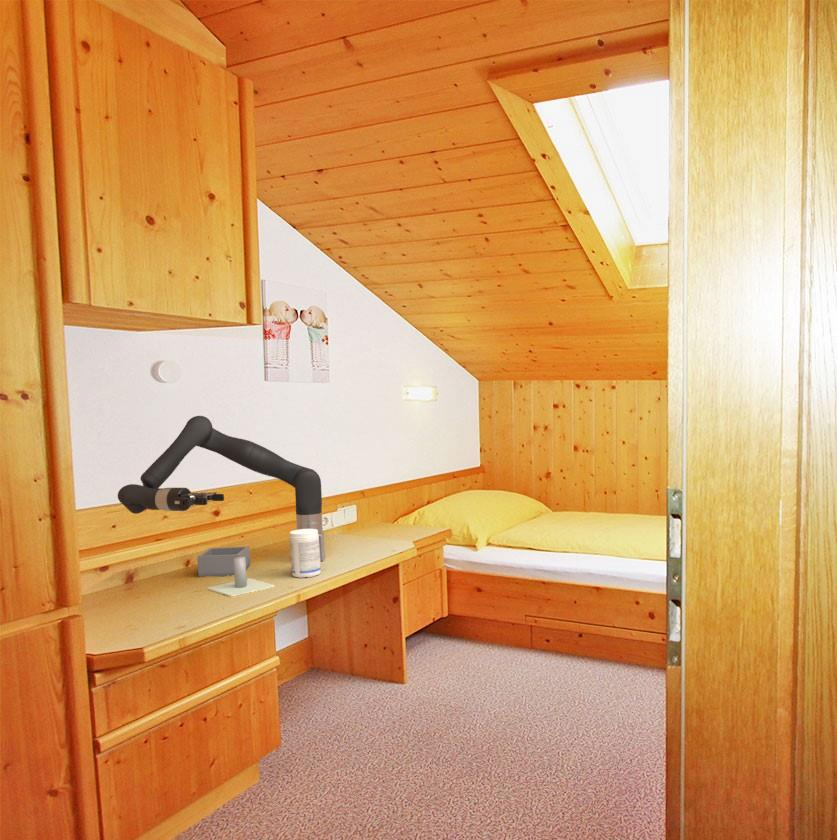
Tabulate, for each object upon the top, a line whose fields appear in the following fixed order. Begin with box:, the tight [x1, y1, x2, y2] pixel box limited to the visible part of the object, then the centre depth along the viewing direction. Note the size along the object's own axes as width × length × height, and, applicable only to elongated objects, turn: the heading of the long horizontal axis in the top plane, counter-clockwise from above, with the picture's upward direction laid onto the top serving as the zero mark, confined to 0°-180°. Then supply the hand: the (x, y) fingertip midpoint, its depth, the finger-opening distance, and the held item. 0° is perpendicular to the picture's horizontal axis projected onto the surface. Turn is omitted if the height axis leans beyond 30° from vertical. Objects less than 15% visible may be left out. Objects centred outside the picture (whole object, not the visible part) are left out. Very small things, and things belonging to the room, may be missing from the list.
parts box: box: [197, 546, 251, 578], centre depth 249 cm, size 14×14×7 cm
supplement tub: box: [289, 529, 322, 579], centre depth 239 cm, size 10×10×15 cm
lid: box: [206, 557, 276, 597], centre depth 225 cm, size 15×15×10 cm
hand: (215, 499), depth 227 cm, fingers open, 8 cm apart
